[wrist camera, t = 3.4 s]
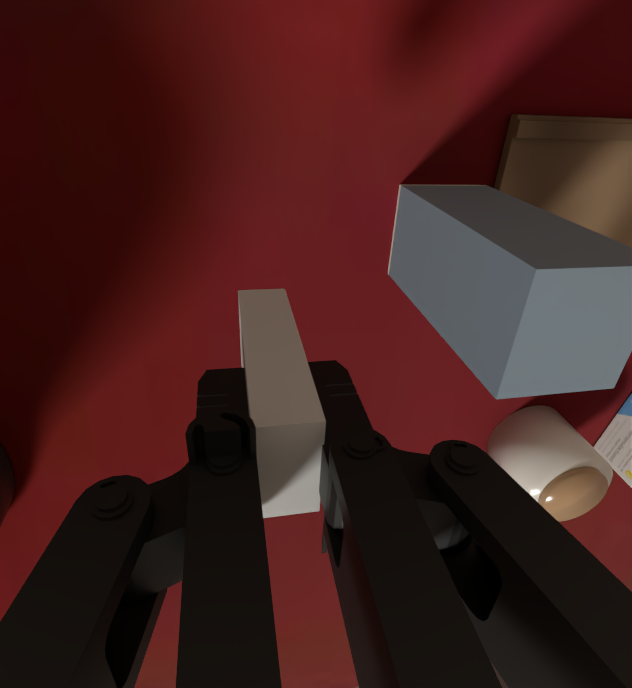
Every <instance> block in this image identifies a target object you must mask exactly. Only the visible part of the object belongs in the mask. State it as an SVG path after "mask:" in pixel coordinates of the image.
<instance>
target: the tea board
mask: <svg viewBox="0 0 632 688" xmlns="http://www.w3.org/2000/svg"><path fill="white" fill-rule="evenodd" d="M494 189H496V190H499V191H501V192H503V193H506V194H508V195H510V196H513V197H515V198H517V199H520V200H522V201H524V202H527V203H529V204H531V205H534V206H536V207H538V208H541V209H543V210H545V211H548V212H550V213H552V214H555V215H557V216H559V217H562V218H564V219H566V220H569V221H571V222H573V223H576V224H578V225H580V226H583V227H585V228H587V229H590V230H592V231H594V232H597V233H599V234H601V235H604V236H606V237H608V238H611V239H613V240H615V241H618V242H620V243H622V244H625V245H627V246H629V247H632V119H626V118H600V117H574V116H549V115H523V114H511V118H510V122H509V126H508V131H507V135H506V139H505V143H504V147H503V152H502V156H501V160H500V164H499V168H498V172H497V177H496V181H495V185H494Z"/></svg>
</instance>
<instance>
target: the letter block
mask: <svg viewBox="0 0 632 688" xmlns="http://www.w3.org/2000/svg"><path fill="white" fill-rule="evenodd" d="M388 274H389V275H390V277H391V278H392V279H393V280H394V281H395V282H396V284H397V285H398V286H399V287H400V288H401V289H402V291H403V292H404V293H405V294H406V295H407V296H408V298H409V299H410V300H411V301H412V302H413V303H414V305H415V306H416V307H417V308H418V309H419V310H420V312H421V313H422V314H423V315H424V316H425V317H426V319H427V320H428V321H429V322H430V323H431V324H432V326H433V327H434V328H435V329H436V330H437V331H438V333H439V334H440V335H441V336H442V337H443V338H444V339H445V341H446V342H447V343H448V344H449V345H450V346H451V348H452V349H453V350H454V351H455V352H456V353H457V355H458V356H459V357H460V358H461V359H462V360H463V362H464V363H465V364H466V365H467V366H468V367H469V369H470V370H471V371H472V372H473V373H474V374H475V376H476V377H477V378H478V379H479V380H480V381H481V383H482V384H483V385H484V386H485V387H486V388H487V390H488V391H489V392H490V393H491V394H492V395H493V397H494V398H495V399H505V398H516V397H526V396H537V395H548V394H558V393H569V392H580V391H591V390H601V389H612V388H614V387H615V385H616V383H617V381H618V378H619V376H620V374H621V372H622V370H623V368H624V366H625V364H626V362H627V359H628V357H629V355H630V353H631V351H632V247H629V246H627V245H625V244H622V243H620V242H618V241H615V240H613V239H611V238H608V237H606V236H604V235H601V234H599V233H597V232H594V231H592V230H590V229H587V228H585V227H583V226H580V225H578V224H576V223H573V222H571V221H569V220H566V219H564V218H562V217H559V216H557V215H555V214H552V213H550V212H548V211H545V210H543V209H541V208H538V207H536V206H534V205H531V204H529V203H527V202H524V201H522V200H520V199H517V198H515V197H513V196H510V195H508V194H506V193H503V192H501V191H499V190H496V189H494V188H492V187H489V186H487V185H404V184H400V186H399V193H398V201H397V208H396V216H395V223H394V230H393V238H392V245H391V253H390V260H389V267H388Z"/></svg>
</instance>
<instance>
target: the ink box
mask: <svg viewBox="0 0 632 688" xmlns="http://www.w3.org/2000/svg"><path fill="white" fill-rule="evenodd" d="M593 448H594V449H595V450H596V451H597V452H598V453H599V454H600V455H601V456H602V457H603V458H604V459H605V460H606V461H607V462H608V463H609V464H610V465H611V467H612V468H613V469H614V470H615V471H616V472H617V473H618V474H619V475H620V477H621V478H622V479H623V480H624V481H625V482H627V484H628V485H629V486H630V487H631V488H632V393H631V394H630V396H629V397H628V399H627V400H626V401H625V403H624V404H623V406H622V407H621V408H620V410H619V411H618V413H617V414H616V415H615V417H614V418H613V420H612V421H611V422H610V424H609V425H608V427H607V428H606V430H605V431H604V432H603V434H602V435H601V437H600V438H599V439H598V441H597V442H596V444H595V445H594V447H593Z"/></svg>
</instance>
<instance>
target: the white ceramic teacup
mask: <svg viewBox="0 0 632 688" xmlns="http://www.w3.org/2000/svg"><path fill="white" fill-rule="evenodd" d="M487 453H488V455H489V456H490V457H491V458H492V459H493V460H494V461H495V462H496V463H497V464H498V465H499V466H500V467H502V468H503V469H504V470H505V471H506V472H507V473H508V474H509V475H510V476H511V477H512V478H513V479H514V480H515V481H516V482H517V483H518V484H519V485H520V486H521V487H522V488H523V489H525V490H526V491H527V492H528V493H529V494H530V495H531V496H532V497H533V498H534V499H535V500H536V501H537V502H538V503H539V504H540V505H541V506H542V507H543V508H544V509H545V510H546V511H547V512H549V513H550V514H551V515H552V516H553V517H554V518H555V519H556V520H557V521H566V520H570V519H573V518H576V517H578V516H581V515H582V514H584V513H586V512H588V511H589V510H591V509H592V508H593V507H594V506H596V505H597V504H598V503H599V502H600V501H601V500H602V498H603V497H604V495H605V494H606V492H607V489H608V487H609V485H610V483H611V480H612V475H613V470H612V467H611V465H610V464H609V463H608V462H607V461H606V460H605V459H604V458H603V457H602V456H601V455H600V454H599V453H598V452H597V451H596V450H595V449H594V448H593V447H592V446H591V445H590V444H589V443H588V442H587V441H586V440H585V439H584V438H583V437H582V436H581V435H580V434H579V433H578V432H577V431H576V430H575V429H574V428H573V427H572V426H571V425H570V424H569V423H568V422H567V421H566V420H565V419H564V418H563V417H562V416H561V415H560V414H559V413H558V412H557V411H556V410H555V409H553V408H551V407H548V406H543V405H536V406H530V407H526V408H523V409H521V410H518V411H516V412H514V413H513V414H511V415H509V416H508V417H506V418H505V419H504V420H503V421H502V422H500V423H499V424H498V425H497V427H496V428H495V429H494V430H493V432H492V433H491V435H490V437H489V440H488V443H487Z"/></svg>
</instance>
